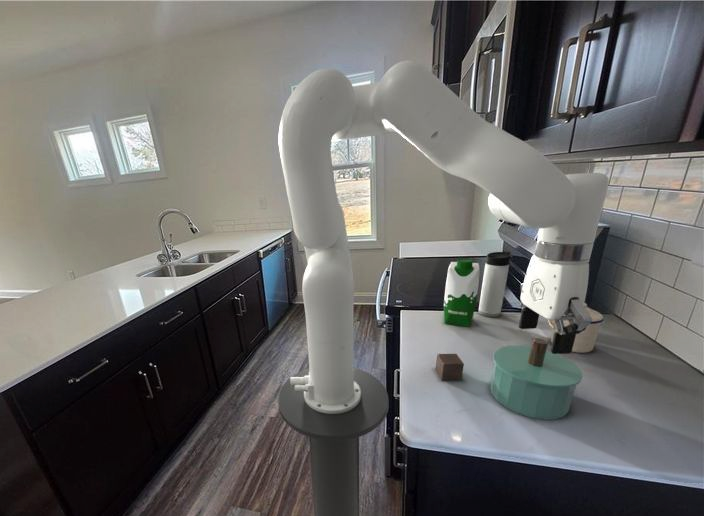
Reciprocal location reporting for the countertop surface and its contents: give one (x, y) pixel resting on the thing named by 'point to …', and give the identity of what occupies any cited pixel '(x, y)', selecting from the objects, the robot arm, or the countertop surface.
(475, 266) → the milk carton
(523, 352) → the lid
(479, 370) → the countertop surface
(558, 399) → the bowl
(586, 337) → the teacup with lid
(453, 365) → the block
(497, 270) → the travel mug
